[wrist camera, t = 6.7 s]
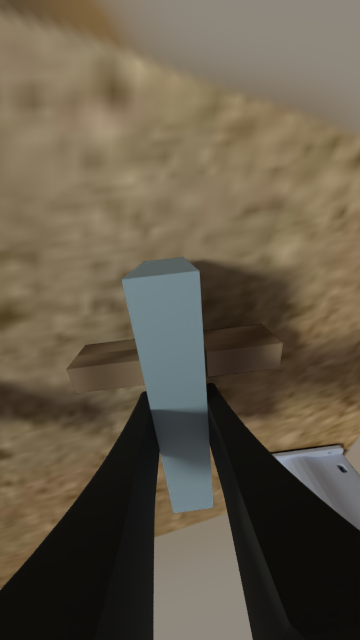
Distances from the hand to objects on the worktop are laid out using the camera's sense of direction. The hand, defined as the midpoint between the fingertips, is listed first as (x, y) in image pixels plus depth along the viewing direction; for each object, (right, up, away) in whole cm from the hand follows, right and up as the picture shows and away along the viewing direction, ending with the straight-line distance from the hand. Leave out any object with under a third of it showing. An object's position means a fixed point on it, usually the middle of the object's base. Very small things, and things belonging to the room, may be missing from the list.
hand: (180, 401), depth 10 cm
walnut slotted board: (0, +2, +5) cm, 6 cm away
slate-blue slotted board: (0, +2, +4) cm, 5 cm away
